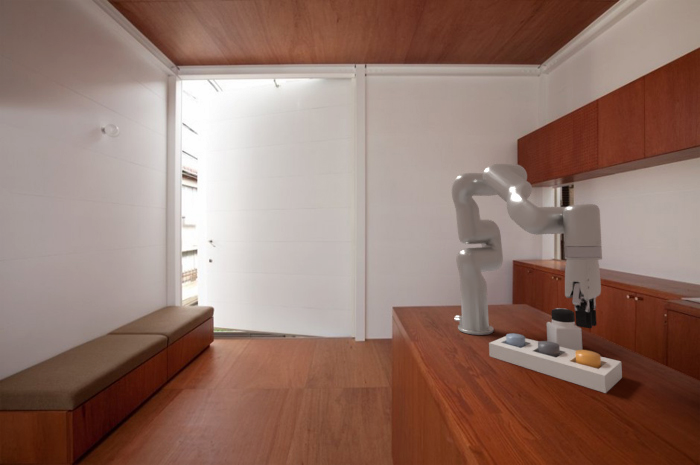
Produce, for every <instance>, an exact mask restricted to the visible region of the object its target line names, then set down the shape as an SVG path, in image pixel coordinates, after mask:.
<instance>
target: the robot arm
mask: <svg viewBox="0 0 700 465" xmlns="http://www.w3.org/2000/svg"><path fill="white" fill-rule="evenodd" d="M527 180H528V173H527V171H526V169H525V168H524V167H523V166H522V165H520V164H514V163H513V164H512V163H493V164H490V165H488V166H487V167H486V168H485V169H484V170H483V172H467V173H463V174H460V175H458V176H457V177H455V179H454V180H453V183H452V186H451V196H452V197H451V198H452V200H453V204H454V208H455V215H456V226H457V227H456V228H457V236H458V239H459V241H460V243H461V244H465V245H481V246H480V247H468V248H464V249H461V250H459V252H458V253H457V254H456V265H457V270H458V275H459V283H460V284H459V285H460V286H459V287H460V304H461V315H458V314H456V315H455V316H454V320H453V321H455V322H458V323H459V324H458V325H457V329H458V331H459V332H462V333H464V334H468V335H473V336H484V335H491V334H492V333H493V332H494V327H493V326H492V325H489V308H488V307H489V306H488V305H489V302H488V299H489V298H488V284H487V281H486V279H485V277H484V276H483V274H482V273H486V272H493V271H497V270H500V268H501V267H502V265H503V262H504V256H503V246H502V245H503V244H502V236H501V231H500V227H499V225H498V224H497V223H496V221H494V220H491V219H481V216H480V208H479V205H478V204H477V202H476V200H475V199H474V198H473V197H475V196H477V197H480V196H483V197H489V196H490V197H491V196H498V197H500V198H501V199H502V200H503V201H504V202H506V209H507V210H506V211H507V213H508V217H510V219H511V220H512V221H513V222H514V223H515V224H516V225H518V227H520V229H522V230H524V231H525V232H527V233H529V234H532V235H536V236H537V235H558V234H563V245H564V246H563V247H564V259H565V260H566V262H565V269H564V270H565V272H564V296H565V297H566V299H572V304H573V305H574V311H575V312H574V315H575V325H576V326H578V327H579V328H586V329H592V328H593V327H596V326H597V324H598V323H597V310H596V309H597V303H596V301H597V300H596V299H597V297H599V296H601V292H602V286H601V285H602V283H601V282H602V281H601V280H602V279H601V272H600V264H599V263H600V262H599V260H603V250H602V246H603V245H602V230H601V211H600V208H599V206H598V205H597V204H593V203H587V204H585V203H582V204H571V205H567V206H538V205H535V204H534V203H532V202H531V201H530V200H528V199H529V197H530V196H531V194H532V191H533V187H532V184H531V183H530V182H529V181H527Z"/></svg>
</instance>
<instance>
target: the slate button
mask: <svg viewBox="0 0 700 465" xmlns="http://www.w3.org/2000/svg"><path fill="white" fill-rule="evenodd" d="M505 336H506V343H507V344H508V345H512V346H516V347H519V348H522V347H524V346H525V338H526V336H524V335H523V334H519V333H514V332H513V333H507V334H506V335H505Z"/></svg>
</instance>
